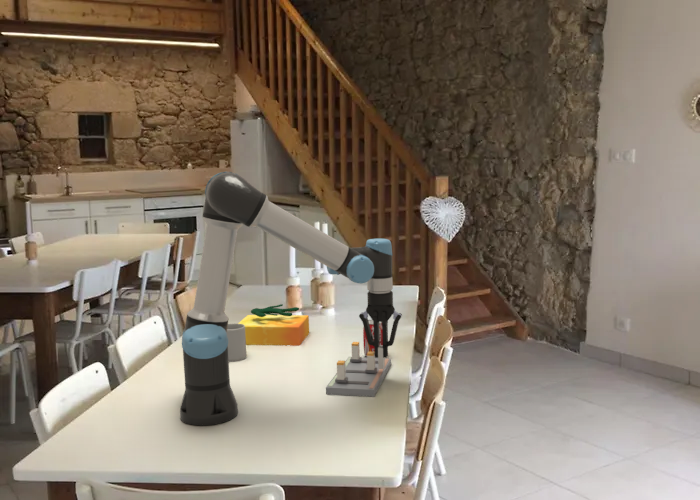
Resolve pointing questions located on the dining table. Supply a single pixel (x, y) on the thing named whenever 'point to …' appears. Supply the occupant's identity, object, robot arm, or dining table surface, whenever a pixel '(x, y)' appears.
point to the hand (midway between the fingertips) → (381, 367)
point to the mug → (236, 342)
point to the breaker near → (341, 372)
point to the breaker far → (355, 352)
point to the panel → (359, 379)
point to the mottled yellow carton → (275, 327)
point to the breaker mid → (371, 363)
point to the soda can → (369, 347)
